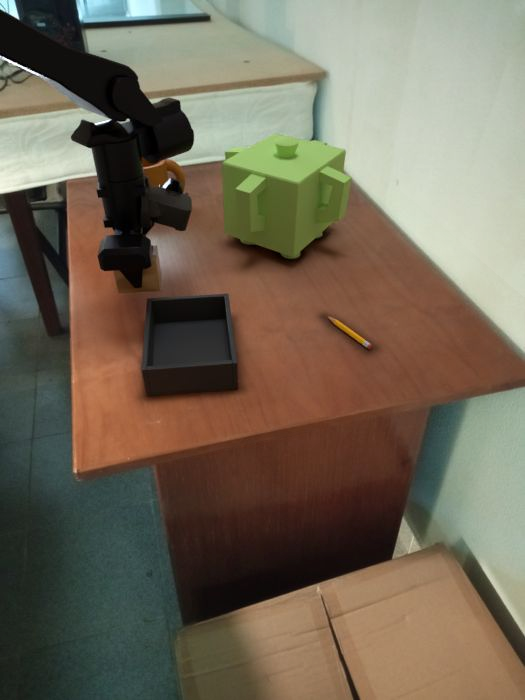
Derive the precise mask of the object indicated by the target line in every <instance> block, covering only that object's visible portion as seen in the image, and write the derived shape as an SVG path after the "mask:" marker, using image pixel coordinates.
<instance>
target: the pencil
mask: <svg viewBox="0 0 525 700" xmlns="http://www.w3.org/2000/svg"><path fill="white" fill-rule="evenodd" d="M327 317H328V319H329V320H330V321H331V322H332V324H333V325H334V326H335V327H337V328H339V329H340V330H341V331H342V332H344V333H345V334H346V335H348V336H349V337H350V338H352V339H353V340H355V341H356V342H358V343H359V344H360V345H362V346H363V347H364V348H366V349H367V350H368V351H370V350H371V349H372V348H373V344H372V343H370V342H369V341H367V340H366V339H365V338H363V337H362V336H360V335H359V334H358V333H356V332H355V331H353V330H352V329H351V328H350V327H348V326H347V325H345V324H344V323H342V322H341V321H339V320H338V319H336V318H334V317H331V316H328V315H327Z"/></svg>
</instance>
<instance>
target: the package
mask: <svg viewBox="0 0 525 700" xmlns="http://www.w3.org/2000/svg"><path fill="white" fill-rule="evenodd" d="M158 247H159V246H158V245H157V244H156V245H153V252H152V266H151V267H149V268H148V269H143V277H142V287H141V288H134V287H133V286H132V285H131V284H130V282H129V281H128V280H127V279H126V278H125V277H124V275H123V274H122V273H121V272H120V271H113V275H114V281H115V285H116V288H117V293H118V294H119V295H120V294H136V293H137V294H138V293H153V292H155V293H156V292H161V291H162V289H161V287H162V270H161V269H162V268H161V262H160V255H159V248H158Z"/></svg>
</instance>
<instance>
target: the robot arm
mask: <svg viewBox="0 0 525 700" xmlns="http://www.w3.org/2000/svg"><path fill="white" fill-rule="evenodd" d="M0 59H2V60H3V61H5V62H8V63H10V64H12V65H14V66H16V67H18V68H21V69H22V70H25V71H26V72H29V73H30V74H33V75H35V76H37V77H39V78H41V79H42V80H44V81H45V82H47V83H48V84H49V85H50V86H52V87H53V88H54V89H55V90H56V91H57V92H58V93H59V94H60V95H62V96H64V97H65V98H67V99H68V100H69V101H71V102H72V103H74V104H75V105H77V107H79V108H81V109H83V110H85V111H88V112H90V113H93V114H96V115H98V116H100V117H101V116H102V117H103V118H106V119H108V120H103V121H101V122H97V123H95V122H93V121H90V120H87V119H85V118H81V120H80V122H79V125H78V126H77V127H76V128H75V129H74V131H73V132H72V134H70V140H71V141H72V142H74V143H77V144H78V145H80V146H83V147H86V148H88V149H91V154H92V159H93V163H94V168H95V174H96V178H97V186H96V195H97V198H98V199H101V202H102V206H103V210H104V215H103V219H102V222H103V228H104V229H112V230H113V234H106V236H104V238H102V240H101V241H100V243H99V247H98V251H97V261H98V264H99V265H98V266H99V269H100V270H101V271H103V272H114V271H120V272H121V273H122V274H123V275H124V277H125V278H126V279H127V280H128V281H129V282H130V284H131V285H132V286H133V287H134V288H141V287H142V277H143V269H148V268H149V267H151V266H152V252H153V246H154V245H152V240H151V239H150V238H149V237H148V236H147V235H148V233H149V232H150V231H151V230H152V229H153V228H154V227H155V223H156V224H157V225H162V226H165V227H168V228H173V229H174V230H175V231H179V232H185V231H186V230H187V228H188V223H189V221H190V216H191V213H192V210H193V202H192V197H190V195H189V192H185V193H184V192H183V187H182V183H181V180H178V179H176V177H170V178H168V181H167V182H166V183H165V184H164V185H163V187H162V185H159V187H155V186H151V185H150V183H149V177H148V176H146V173H144V171H143V164H142V157H143V158H144V159H145V160H146V161H148V162H149V163H157V162H160V161H162V160H165V159H171V158H173V157H176V156H179V155H182V154H184V153H187V152H190V151H191V150H192V148H193V146H194V143H195V131H194V129H193V128H192V124H191V122H190V120H189V118H188V116H187V115H186V114H185V112H184V111H183V110H182V106H181V100H179V99H176V98H173V97H169V96H168V97H166V98H162V99H161V100H159V101H157V102H153V103H152V102H151V100H149V98H148V96H146V94H145V93H144V91H143V90H142V88H141V84H140V82H139V76H138V74H137V73H136V72H135V70H133V68H131V67H130V66H128V65H126V64H123V63H122V62H121V63H120V62H117V61H115V60H112V59H108V58H106V57H102V56H99V55H96V54H93V53H90V52H86V51H84V50H80V49H77V48H74V47H71V46H68V45H66V44H64V43H62V42H60V41H59V40H57V39H55V38H53V37H52V36H50V35H48V34H46V33H44V32H43V31H40V30H38V29H37V28H36V27H33V26H32V25H31V24H28V23H26V22H25V21H23V20H21V19H19V18H17V17H15V16H14V15H12V14H10V13H9V12H6V11H4V10H3V9H1V8H0ZM127 120H128V121H127Z"/></svg>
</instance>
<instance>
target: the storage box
mask: <svg viewBox="0 0 525 700" xmlns="http://www.w3.org/2000/svg"><path fill="white" fill-rule="evenodd" d="M346 155H347V151H346V148H341V147H336V146H333V145H328V142H324V141H321V140H315V139H314V140H306V139H303V138H298V137H294V136H290V135H284V134H280V133H276V132H275V133H273V134H271V135H269V136H268V137H266V138H264V139H261V140H260V141H258V142H256V143H254V144H253V145H251V146H249V147H244V146H243V147H242V146H241V147H240V146H233V147H231V148H229V149H227V150H226V151H224V159H225V160H224V161H222V163H221V177H222V179H221V180H222V203H223V226H224V227H223V229H224V235H227V236H229V237H233V238H236V239H239V240H240V242H241V243H242V244H244V245H249V246H251V245H252V246H253V245H256V246H259V247H262V248H264V249H269V250H271V251H274V252H277V253H280V255H281V256H282V257H283V258H285V259H290V260H292V259H293V260H294V259H297V258H299V257H300V256H301V251H302V250H304V249H305V248H306V247H308V245H309V244H311V242H313V241H314V240H315V239H319V238H321V237H322V236H323V232H324V231H325V230H326V229H327V228H329V227H330V226H331V225H332V224H333V223H334V222H339V221H340V220H341V219H342V218H344V217H345V216H346V213H347V207H348V201H349V195H350V190H351V183H352V178H353V177H352V176H351V175H348V174H346V173H344V170H345V161H346Z"/></svg>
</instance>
